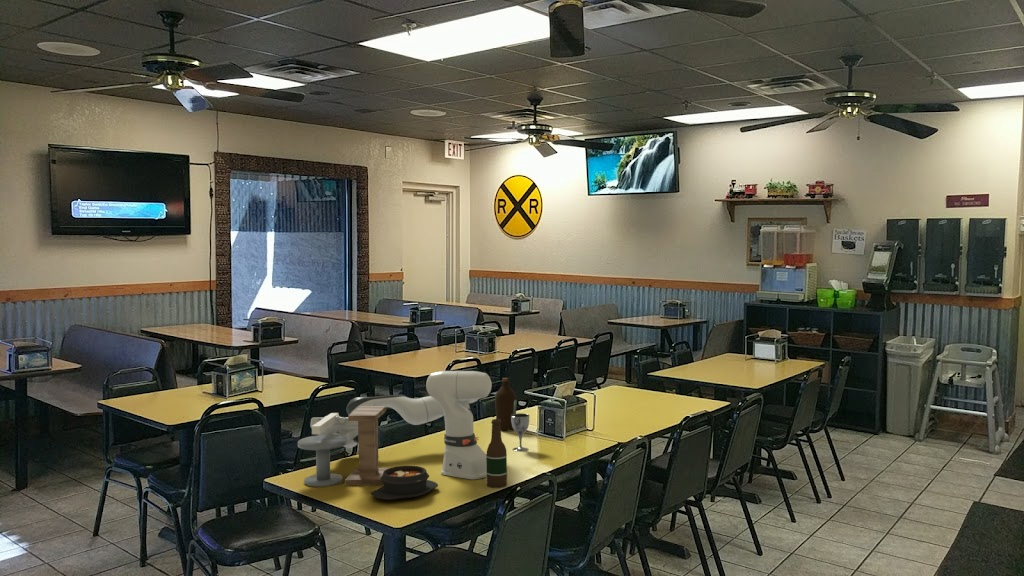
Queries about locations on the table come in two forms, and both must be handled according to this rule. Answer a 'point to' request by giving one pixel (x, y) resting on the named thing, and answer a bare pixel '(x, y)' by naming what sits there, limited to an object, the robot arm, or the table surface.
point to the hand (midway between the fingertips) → (331, 417)
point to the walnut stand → (367, 446)
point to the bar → (324, 423)
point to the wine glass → (520, 427)
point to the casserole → (404, 483)
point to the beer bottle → (496, 458)
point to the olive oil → (505, 405)
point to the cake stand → (322, 458)
